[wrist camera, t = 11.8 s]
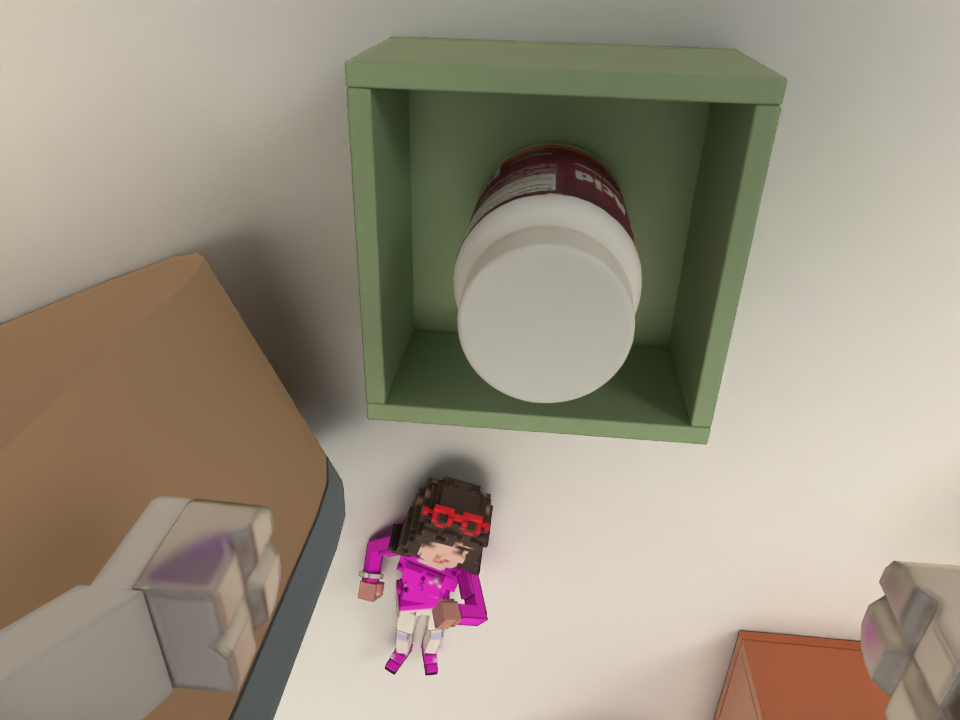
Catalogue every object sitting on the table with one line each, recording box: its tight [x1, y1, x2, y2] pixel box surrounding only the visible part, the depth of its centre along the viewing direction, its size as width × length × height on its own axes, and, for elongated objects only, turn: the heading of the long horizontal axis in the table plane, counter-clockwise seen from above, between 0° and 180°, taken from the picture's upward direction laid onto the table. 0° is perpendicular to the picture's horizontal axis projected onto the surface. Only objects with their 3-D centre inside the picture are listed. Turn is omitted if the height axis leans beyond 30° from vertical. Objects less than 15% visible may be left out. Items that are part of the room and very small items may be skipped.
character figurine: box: [358, 477, 493, 675], centre depth 30 cm, size 6×5×12 cm
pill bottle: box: [453, 142, 642, 403], centre depth 20 cm, size 5×5×8 cm
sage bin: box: [345, 37, 787, 444], centre depth 22 cm, size 10×10×6 cm
